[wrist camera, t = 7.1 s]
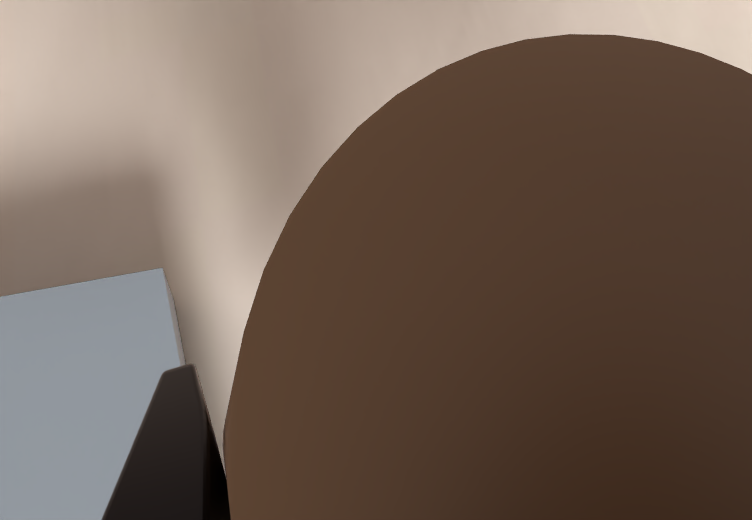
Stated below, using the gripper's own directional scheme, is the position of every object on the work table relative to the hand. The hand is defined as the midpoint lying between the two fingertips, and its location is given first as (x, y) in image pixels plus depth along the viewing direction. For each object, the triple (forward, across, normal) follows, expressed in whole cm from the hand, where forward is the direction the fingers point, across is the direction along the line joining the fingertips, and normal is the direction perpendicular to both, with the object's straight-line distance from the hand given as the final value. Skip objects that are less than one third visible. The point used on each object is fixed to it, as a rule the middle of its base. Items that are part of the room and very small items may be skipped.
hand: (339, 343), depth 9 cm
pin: (+4, 0, +6) cm, 7 cm away
